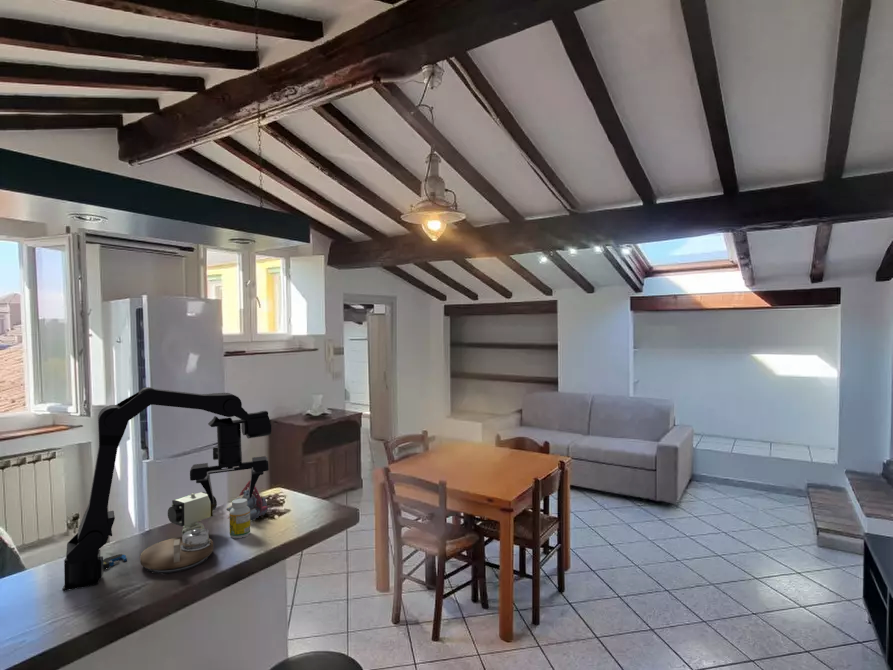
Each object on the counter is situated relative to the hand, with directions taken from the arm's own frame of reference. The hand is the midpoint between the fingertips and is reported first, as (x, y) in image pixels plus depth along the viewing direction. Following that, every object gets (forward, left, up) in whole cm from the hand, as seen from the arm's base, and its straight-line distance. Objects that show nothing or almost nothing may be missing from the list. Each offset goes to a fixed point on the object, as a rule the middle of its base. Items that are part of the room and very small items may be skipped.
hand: (231, 500), depth 134 cm
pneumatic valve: (-10, +13, -13) cm, 20 cm away
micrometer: (-29, +2, -13) cm, 32 cm away
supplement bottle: (+2, +8, -13) cm, 15 cm away
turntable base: (-13, -2, -12) cm, 18 cm away
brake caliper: (+6, +22, -13) cm, 26 cm away
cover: (-9, -2, -10) cm, 13 cm away
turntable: (-13, -2, -11) cm, 17 cm away
